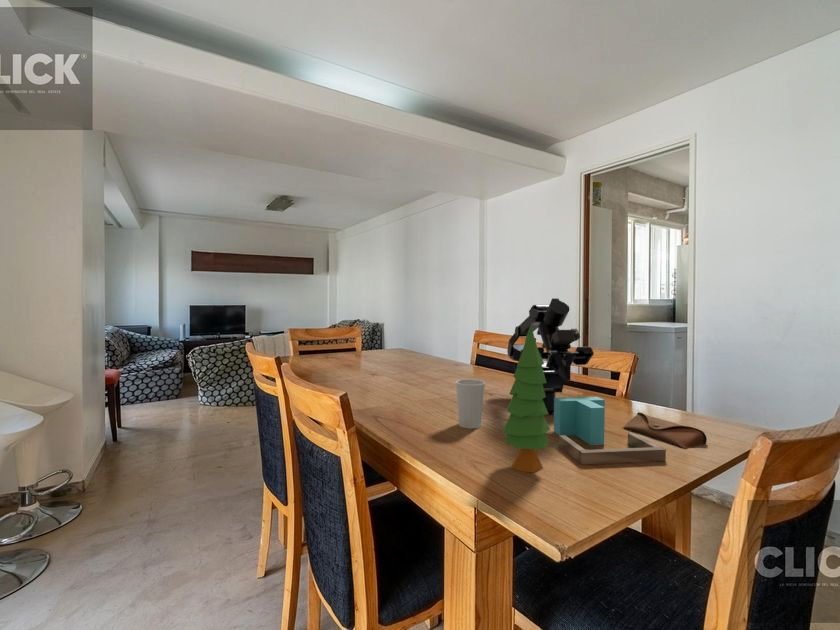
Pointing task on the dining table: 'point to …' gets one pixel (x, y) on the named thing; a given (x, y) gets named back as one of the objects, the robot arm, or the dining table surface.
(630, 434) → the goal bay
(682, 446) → the sunglasses case
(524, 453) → the decorative tree
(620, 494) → the dining table surface
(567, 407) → the t block
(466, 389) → the cup
